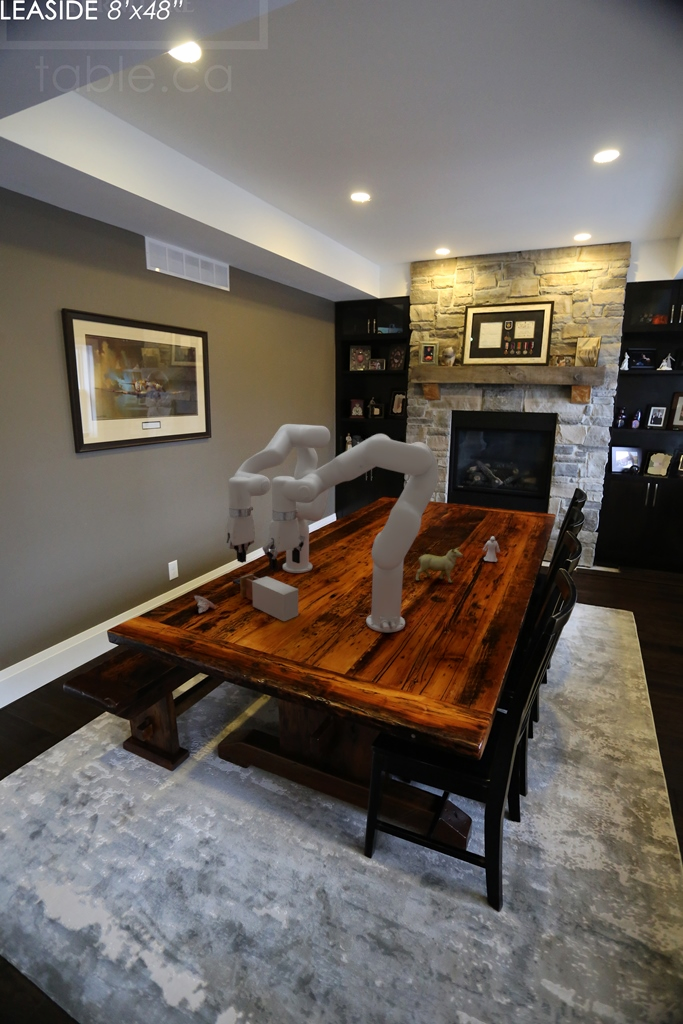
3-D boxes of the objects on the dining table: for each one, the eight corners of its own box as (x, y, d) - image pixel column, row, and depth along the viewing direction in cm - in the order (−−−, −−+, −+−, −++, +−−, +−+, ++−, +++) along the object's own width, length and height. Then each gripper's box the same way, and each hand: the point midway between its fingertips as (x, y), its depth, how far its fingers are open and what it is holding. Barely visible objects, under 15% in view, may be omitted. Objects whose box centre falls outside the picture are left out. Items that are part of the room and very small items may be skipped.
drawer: (231, 592, 183) (230, 572, 181) (243, 588, 187) (242, 569, 185) (268, 610, 169) (267, 589, 167) (279, 605, 173) (279, 584, 171)
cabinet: (252, 606, 174) (252, 581, 172) (267, 600, 178) (266, 576, 176) (284, 621, 163) (283, 594, 161) (298, 615, 168) (298, 589, 165)
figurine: (481, 562, 222) (483, 536, 219) (482, 556, 230) (484, 531, 227) (499, 564, 220) (501, 538, 217) (499, 558, 228) (501, 533, 225)
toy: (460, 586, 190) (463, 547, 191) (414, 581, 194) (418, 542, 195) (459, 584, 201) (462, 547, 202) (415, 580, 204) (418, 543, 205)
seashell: (200, 621, 170) (185, 603, 169) (211, 610, 173) (196, 593, 173) (208, 616, 164) (192, 598, 163) (220, 606, 167) (204, 588, 166)
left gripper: (250, 506, 183) (252, 554, 188) (215, 513, 173) (218, 563, 177) (263, 510, 178) (264, 559, 183) (228, 517, 168) (230, 569, 172)
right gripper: (296, 508, 168) (296, 557, 172) (255, 517, 155) (256, 569, 159) (312, 512, 163) (312, 562, 167) (270, 522, 150) (271, 575, 155)
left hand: (241, 561), depth 180 cm, fingers closed
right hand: (284, 565), depth 163 cm, fingers open, 9 cm apart
